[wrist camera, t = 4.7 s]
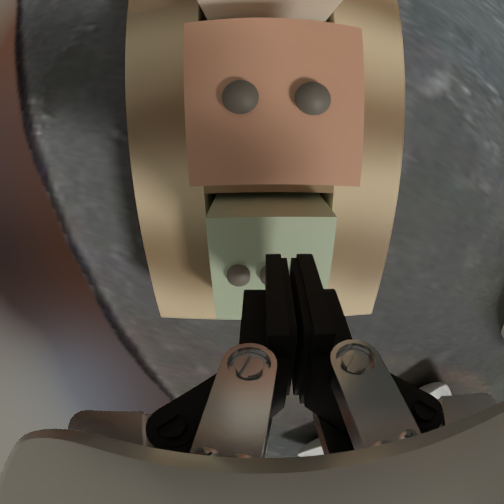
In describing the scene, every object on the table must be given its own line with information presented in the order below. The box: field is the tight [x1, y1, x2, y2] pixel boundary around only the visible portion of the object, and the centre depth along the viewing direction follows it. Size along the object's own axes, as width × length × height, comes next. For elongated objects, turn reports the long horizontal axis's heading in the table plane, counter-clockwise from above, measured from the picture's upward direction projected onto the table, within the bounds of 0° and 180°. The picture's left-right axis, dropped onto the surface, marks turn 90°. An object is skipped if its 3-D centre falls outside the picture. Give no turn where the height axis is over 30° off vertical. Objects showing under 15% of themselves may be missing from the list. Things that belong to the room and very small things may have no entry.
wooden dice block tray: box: [125, 0, 405, 319], centre depth 12 cm, size 23×13×3 cm, turn 1°
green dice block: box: [205, 192, 337, 320], centre depth 14 cm, size 5×5×5 cm
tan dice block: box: [183, 18, 364, 187], centre depth 9 cm, size 5×5×5 cm
